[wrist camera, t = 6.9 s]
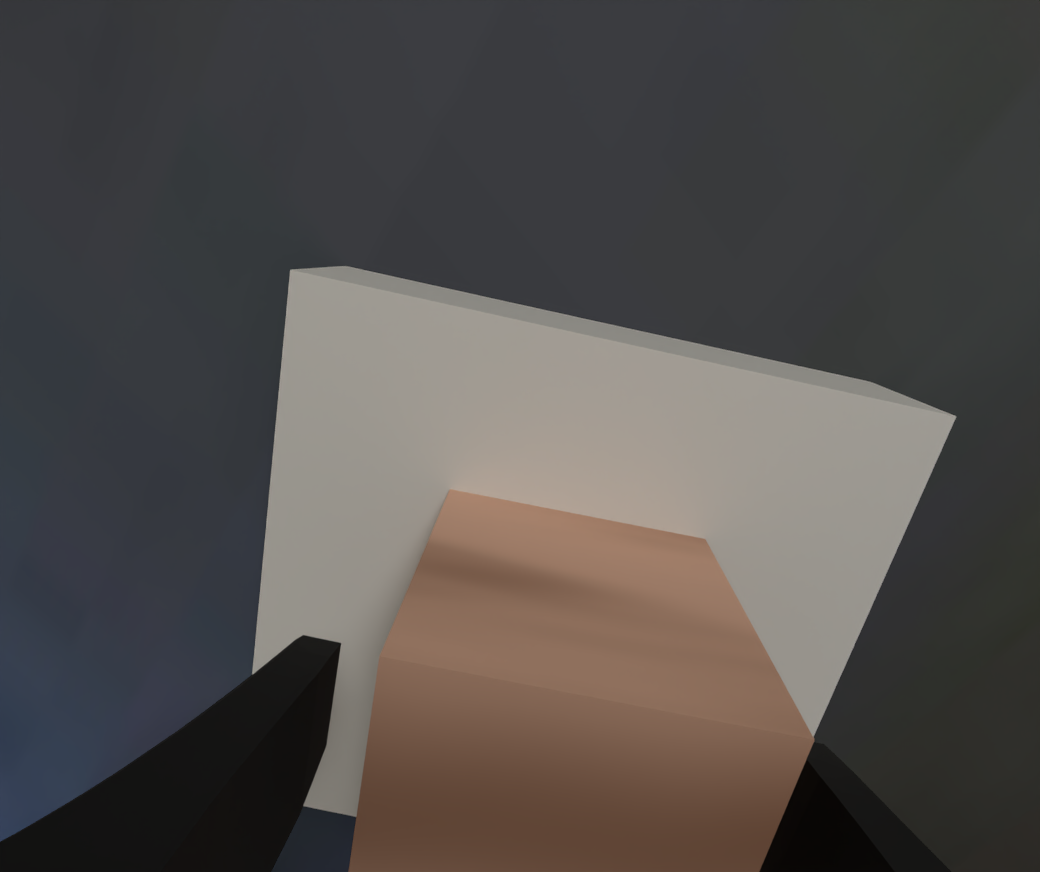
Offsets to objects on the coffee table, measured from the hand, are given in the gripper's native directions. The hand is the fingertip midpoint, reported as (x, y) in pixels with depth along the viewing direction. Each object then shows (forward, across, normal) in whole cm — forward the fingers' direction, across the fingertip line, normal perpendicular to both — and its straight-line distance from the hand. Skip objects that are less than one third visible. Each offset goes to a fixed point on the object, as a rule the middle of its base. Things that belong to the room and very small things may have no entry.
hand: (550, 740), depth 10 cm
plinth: (+6, 0, 0) cm, 6 cm away
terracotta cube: (+3, 0, 0) cm, 3 cm away
